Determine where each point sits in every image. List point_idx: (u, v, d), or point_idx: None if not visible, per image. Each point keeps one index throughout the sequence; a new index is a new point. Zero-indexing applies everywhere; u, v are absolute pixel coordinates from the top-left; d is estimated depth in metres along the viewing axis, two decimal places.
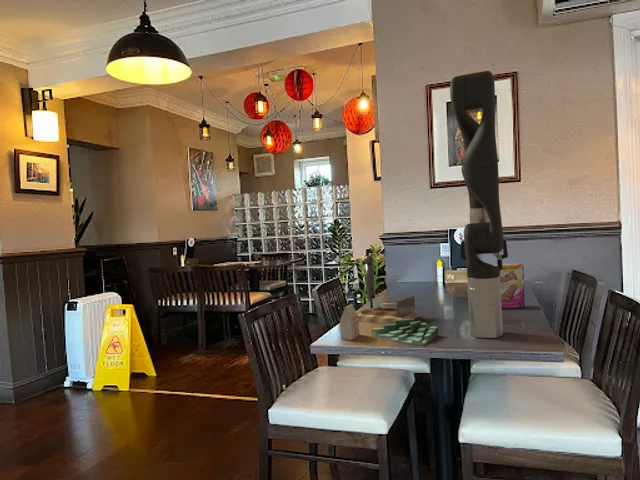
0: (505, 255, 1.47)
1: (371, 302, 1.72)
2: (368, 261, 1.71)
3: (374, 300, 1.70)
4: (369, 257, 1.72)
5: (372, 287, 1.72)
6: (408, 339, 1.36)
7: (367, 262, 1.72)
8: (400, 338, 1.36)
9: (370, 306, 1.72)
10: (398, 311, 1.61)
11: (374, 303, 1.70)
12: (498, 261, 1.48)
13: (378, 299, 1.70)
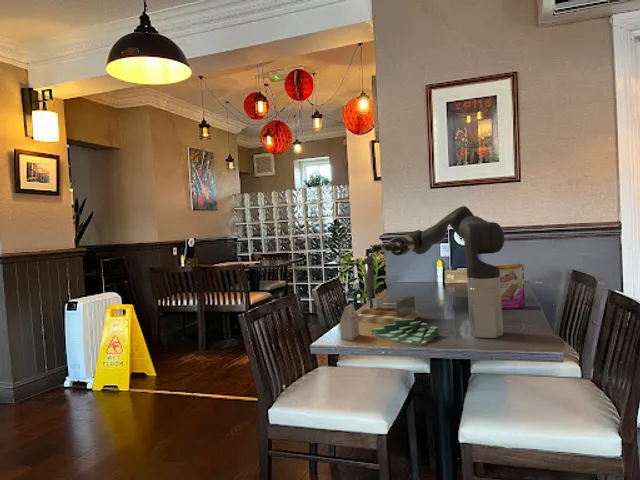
0: (403, 244, 1.82)
1: (371, 302, 1.72)
2: (368, 261, 1.71)
3: (374, 300, 1.70)
4: (369, 257, 1.72)
5: (372, 287, 1.72)
6: (408, 339, 1.37)
7: (367, 262, 1.72)
8: (400, 338, 1.36)
9: (370, 306, 1.72)
10: (398, 311, 1.61)
11: (374, 303, 1.70)
12: None
13: (378, 299, 1.70)
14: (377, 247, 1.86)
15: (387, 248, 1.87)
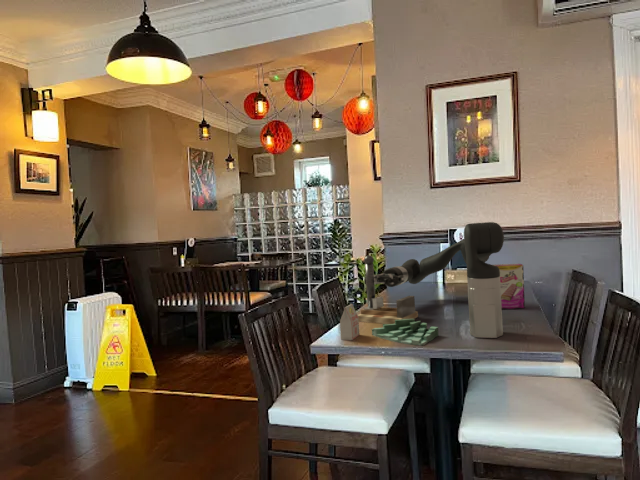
0: (396, 276, 1.76)
1: (371, 302, 1.72)
2: (368, 261, 1.71)
3: (374, 300, 1.70)
4: (369, 257, 1.72)
5: (372, 287, 1.72)
6: (407, 339, 1.37)
7: (367, 262, 1.72)
8: (399, 338, 1.36)
9: (370, 306, 1.72)
10: (398, 311, 1.61)
11: (374, 303, 1.70)
12: None
13: (378, 299, 1.70)
14: None
15: (380, 280, 1.82)
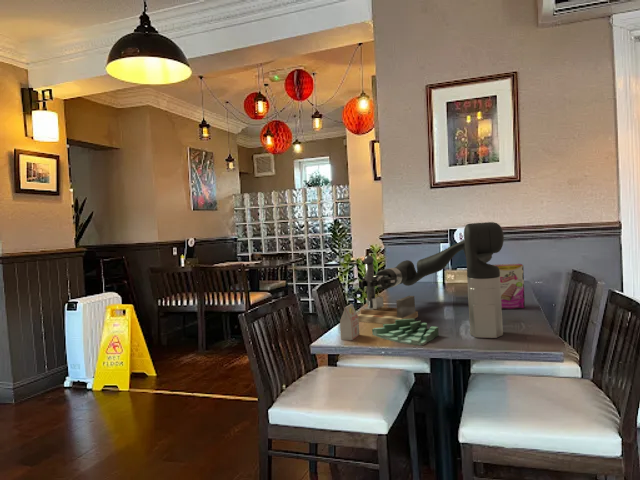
0: (382, 279, 1.73)
1: (371, 302, 1.72)
2: (368, 261, 1.71)
3: (374, 300, 1.70)
4: (369, 257, 1.72)
5: (372, 287, 1.72)
6: (407, 339, 1.37)
7: (367, 262, 1.72)
8: (399, 338, 1.37)
9: (370, 306, 1.72)
10: (398, 311, 1.61)
11: (374, 303, 1.70)
12: None
13: (378, 299, 1.71)
14: None
15: None
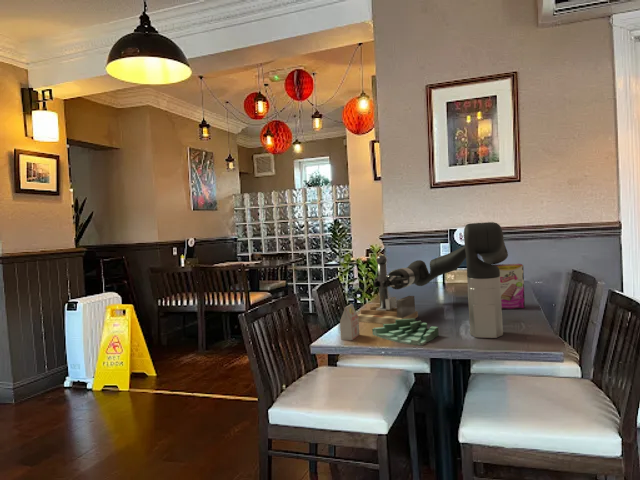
0: (395, 279, 1.69)
1: (384, 303, 1.69)
2: (381, 261, 1.68)
3: (387, 301, 1.67)
4: (382, 257, 1.68)
5: None
6: (407, 339, 1.37)
7: (380, 262, 1.68)
8: (399, 338, 1.37)
9: (383, 307, 1.69)
10: (398, 311, 1.61)
11: (387, 304, 1.67)
12: None
13: (391, 300, 1.67)
14: None
15: None
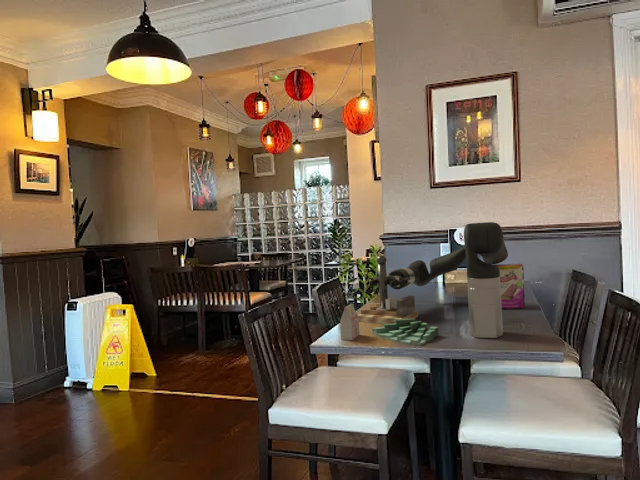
0: (403, 279, 1.69)
1: (384, 303, 1.69)
2: (381, 261, 1.68)
3: (387, 301, 1.67)
4: (382, 257, 1.68)
5: (385, 287, 1.69)
6: (407, 339, 1.37)
7: (380, 262, 1.68)
8: (399, 338, 1.37)
9: (383, 307, 1.69)
10: (398, 311, 1.61)
11: (387, 304, 1.67)
12: None
13: (391, 300, 1.67)
14: (375, 281, 1.73)
15: None
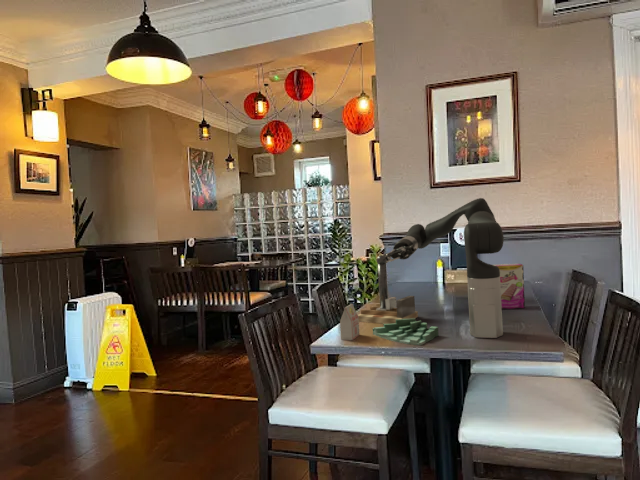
0: (409, 247, 1.76)
1: (384, 303, 1.69)
2: (381, 261, 1.68)
3: (387, 301, 1.67)
4: (382, 257, 1.68)
5: (385, 287, 1.69)
6: (406, 339, 1.37)
7: (380, 262, 1.68)
8: (398, 337, 1.37)
9: (383, 307, 1.69)
10: (398, 311, 1.61)
11: (387, 304, 1.67)
12: (402, 251, 1.76)
13: (391, 300, 1.67)
14: None
15: (394, 256, 1.82)
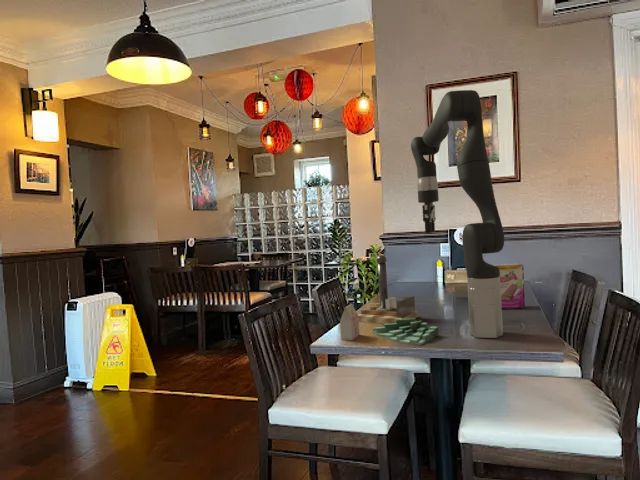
0: None
1: (384, 303, 1.69)
2: (381, 261, 1.68)
3: (387, 301, 1.67)
4: (382, 257, 1.68)
5: (385, 287, 1.69)
6: (406, 339, 1.37)
7: (380, 262, 1.68)
8: (398, 337, 1.37)
9: (383, 307, 1.69)
10: (398, 311, 1.61)
11: (387, 304, 1.67)
12: None
13: (391, 300, 1.67)
14: None
15: None
